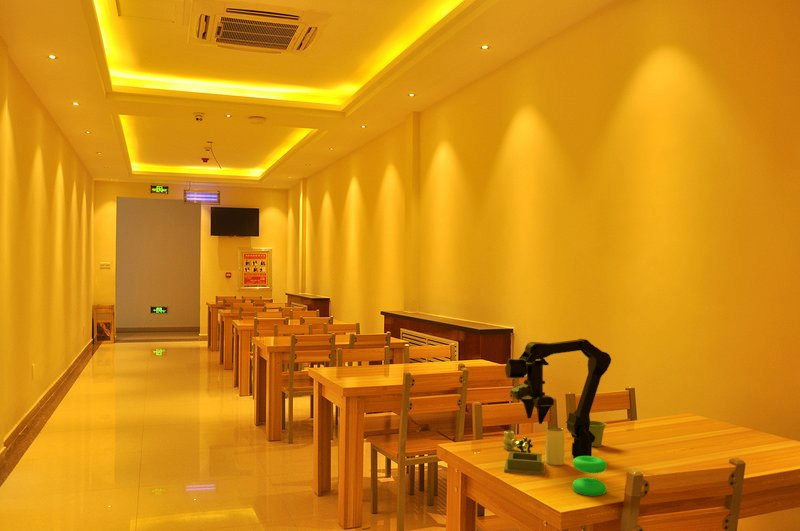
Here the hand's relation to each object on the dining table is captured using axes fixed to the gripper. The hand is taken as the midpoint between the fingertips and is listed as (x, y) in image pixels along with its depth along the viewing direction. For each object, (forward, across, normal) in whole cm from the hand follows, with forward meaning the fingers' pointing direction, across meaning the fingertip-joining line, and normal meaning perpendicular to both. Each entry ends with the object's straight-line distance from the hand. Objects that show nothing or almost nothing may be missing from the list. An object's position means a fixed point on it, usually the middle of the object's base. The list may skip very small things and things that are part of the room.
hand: (534, 421), depth 249 cm
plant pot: (+14, -14, +32) cm, 37 cm away
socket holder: (+13, +12, -9) cm, 20 cm away
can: (+14, +8, +4) cm, 16 cm away
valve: (+14, -10, -3) cm, 17 cm away
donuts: (+14, +39, 0) cm, 41 cm away
